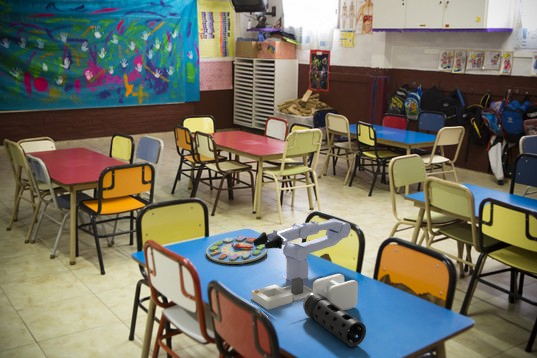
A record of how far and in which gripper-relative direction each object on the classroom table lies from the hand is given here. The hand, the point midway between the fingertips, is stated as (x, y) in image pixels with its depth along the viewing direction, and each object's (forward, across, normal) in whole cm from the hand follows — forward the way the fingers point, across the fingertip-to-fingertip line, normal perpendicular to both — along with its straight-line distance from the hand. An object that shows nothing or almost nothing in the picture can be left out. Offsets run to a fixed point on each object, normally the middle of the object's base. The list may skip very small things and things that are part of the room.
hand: (259, 244), depth 242 cm
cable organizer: (-12, +30, +24) cm, 40 cm away
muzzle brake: (+3, +43, +25) cm, 50 cm away
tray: (-8, +11, +22) cm, 26 cm away
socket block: (+4, +10, +21) cm, 24 cm away
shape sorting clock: (-17, -43, +18) cm, 50 cm away
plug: (-8, +11, +21) cm, 26 cm away
